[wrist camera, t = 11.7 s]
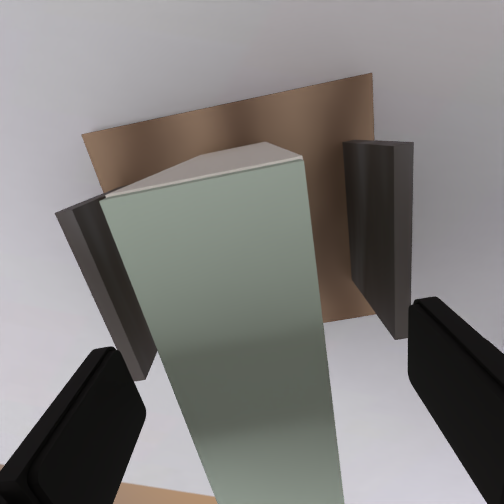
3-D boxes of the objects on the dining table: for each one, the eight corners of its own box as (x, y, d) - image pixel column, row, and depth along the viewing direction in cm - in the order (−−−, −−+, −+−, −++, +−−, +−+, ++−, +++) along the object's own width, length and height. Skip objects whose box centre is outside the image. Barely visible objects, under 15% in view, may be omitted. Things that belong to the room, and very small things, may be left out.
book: (264, 141, 18) (306, 157, 5) (291, 302, 23) (348, 523, 10) (201, 154, 19) (95, 199, 6) (239, 311, 23) (230, 538, 10)
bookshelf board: (362, 77, 18) (448, 34, 11) (371, 303, 25) (429, 382, 17) (93, 134, 19) (-13, 134, 12) (167, 337, 26) (132, 427, 18)
